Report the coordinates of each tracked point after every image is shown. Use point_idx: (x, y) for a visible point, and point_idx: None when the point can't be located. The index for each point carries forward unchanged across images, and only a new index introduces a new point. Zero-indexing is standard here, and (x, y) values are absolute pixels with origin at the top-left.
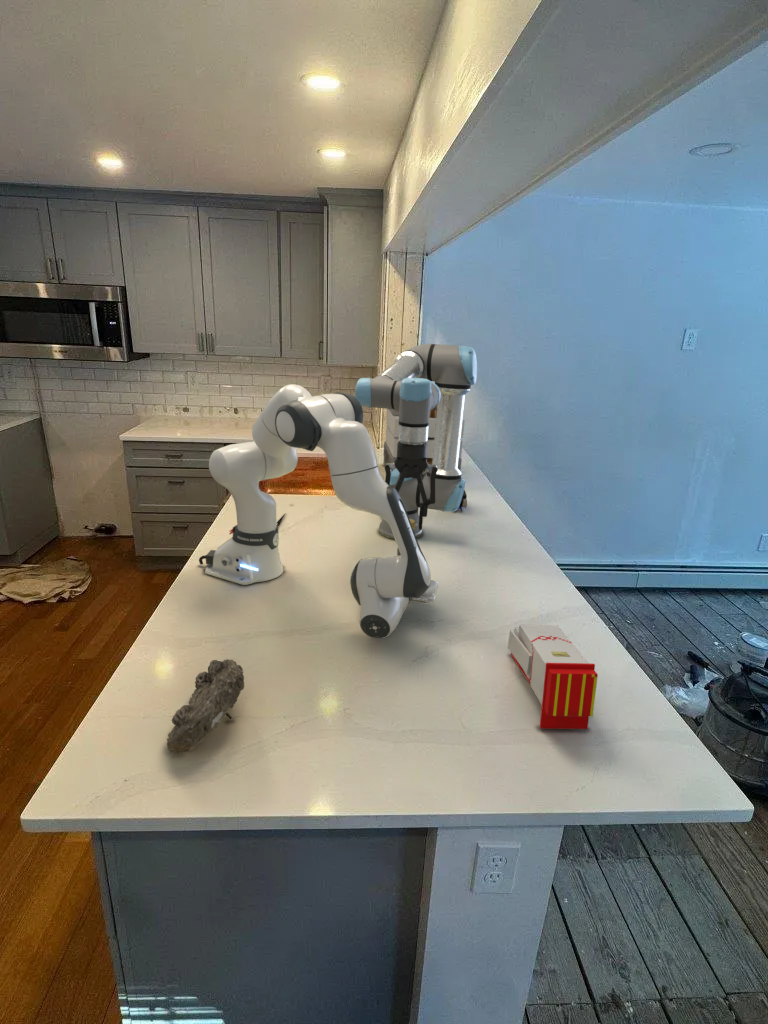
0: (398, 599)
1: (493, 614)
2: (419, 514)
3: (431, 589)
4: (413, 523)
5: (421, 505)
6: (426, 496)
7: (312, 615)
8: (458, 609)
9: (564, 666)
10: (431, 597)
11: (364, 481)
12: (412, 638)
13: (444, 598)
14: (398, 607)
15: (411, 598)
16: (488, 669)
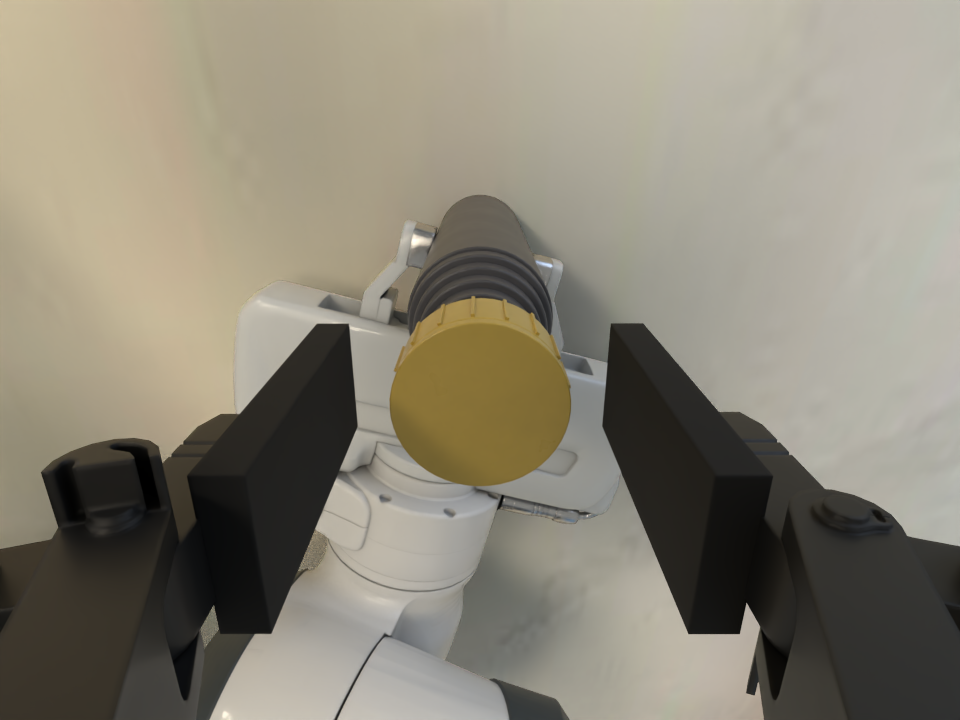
0: (441, 623)
1: (862, 367)
2: (648, 403)
3: (607, 488)
4: (546, 458)
5: (712, 595)
6: (933, 620)
7: (116, 430)
8: (721, 338)
9: None
10: (599, 502)
11: None
12: (505, 541)
13: (680, 242)
14: (443, 656)
15: (505, 510)
16: (717, 661)
